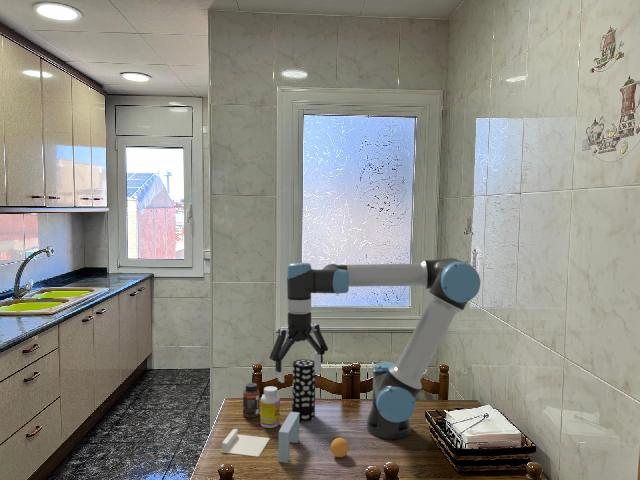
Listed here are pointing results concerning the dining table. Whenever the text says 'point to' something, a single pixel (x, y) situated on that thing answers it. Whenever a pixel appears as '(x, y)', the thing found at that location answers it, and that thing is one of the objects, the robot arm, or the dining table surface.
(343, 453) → the ball
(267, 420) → the supplement bottle
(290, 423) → the bridge
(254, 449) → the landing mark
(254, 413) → the supplement bottle
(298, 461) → the dining table surface
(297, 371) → the spotted tube
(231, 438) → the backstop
